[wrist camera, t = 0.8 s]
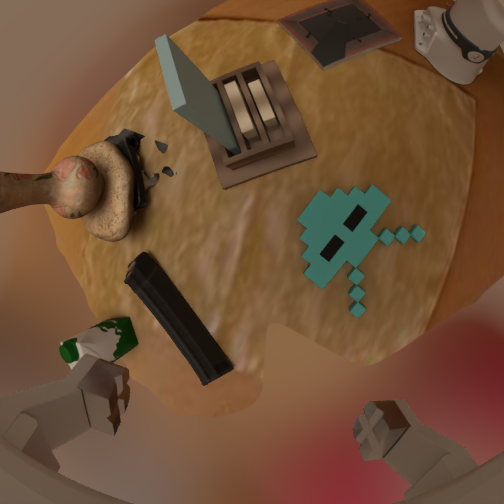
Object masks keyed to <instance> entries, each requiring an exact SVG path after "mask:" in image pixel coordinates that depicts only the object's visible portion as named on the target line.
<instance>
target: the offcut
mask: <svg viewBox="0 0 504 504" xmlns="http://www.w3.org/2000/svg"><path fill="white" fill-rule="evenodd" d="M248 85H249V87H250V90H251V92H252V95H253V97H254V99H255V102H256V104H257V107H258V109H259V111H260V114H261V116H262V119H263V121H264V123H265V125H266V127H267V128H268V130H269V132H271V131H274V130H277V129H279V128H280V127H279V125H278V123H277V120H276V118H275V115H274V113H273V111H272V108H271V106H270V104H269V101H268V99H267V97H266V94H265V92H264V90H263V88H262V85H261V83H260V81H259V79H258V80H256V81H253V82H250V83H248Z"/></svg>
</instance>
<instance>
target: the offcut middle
mask: <svg viewBox="0 0 504 504" xmlns="http://www.w3.org/2000/svg"><path fill="white" fill-rule="evenodd" d="M224 87H225V89H226V92H227V95H228V97H229V100H230V103H231V105H232V108H233V110H234V113H235V116H236V118H237V121H238V124H239V127H240V129H241V132H242V134H243V135H244V136H245V137H246V138H247V139H248V140H249V142H250V143H251V144H253V143H256V142H259V141H261V140H262V139H261V136H260V134H259V131H258V128H257V126H256V123H255V121H254V118H253V116H252V113H251V111H250V108H249V106H248V103H247V101H246V98H245V96H244V94H243V93H242V91H241V90H240V88H239V87H238V85H237V83H236V82H235V81H233V82H230V83H228V84H225V85H224Z"/></svg>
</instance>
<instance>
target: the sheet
mask: <svg viewBox="0 0 504 504" xmlns="http://www.w3.org/2000/svg"><path fill="white" fill-rule="evenodd" d="M155 44H156V48H157V52H158V56H159V60H160V64H161V68H162V72H163V76H164V80H165V83H166V87H167V91H168V95H169V98H170V102H171V105H172V109H173V111H175V112H176V113H178V114H179V115H181V116H182V117H183V118H185V119H186V120H188V121H189V122H191V123H192V124H194V125H195V126H196V127H198V128H199V129H201V130H202V131H203V132H205V133H206V134H208V135H209V136H210V137H212V138H213V139H215V140H216V141H217V142H219V143H220V144H221V145H223V146H224V147H225V148H227V149H228V150H229V151H231V152H232V153H233V154H235V155H238V154H240V153H242V152H241V149H240V146H239V143H238V141H237V138H236V135H235V132H234V129H233V127H232V124H231V121H230V118H229V116H228V113H227V110H226V107H225V105H224V102H223V99H222V97H221V94H220V93H219V92H218V91H217V90H216V89H215V87H214V86H213V85H212V84H211V83H210V82H209V80H208V79H207V78H206V77H205V76H204V75H203V74H202V72H201V71H200V70H199V69H198V68H197V67H196V66H195V65H194V64H193V62H192V61H191V60H190V59H189V58H188V57H187V56H186V55H185V54H184V53H183V52H182V51H181V49H180V48H179V47H178V46H177V45H176V44H175V43H174V42H173V41H172V40H171V39H170V38H169V37H168V36H167V35H166V34H165V35H163V36H161V37H159V38H158V39H156V40H155Z"/></svg>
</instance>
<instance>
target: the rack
mask: <svg viewBox="0 0 504 504" xmlns="http://www.w3.org/2000/svg"><path fill="white" fill-rule="evenodd" d="M258 79H259V81H260V83H261V85H262V88H263V90H264V92H265V94H266V97H267V99H268V101H269V104H270V106H271V108H272V111H273V113H274V115H275V118H276V120H277V123H278V125H279V127H280V128H279V129H277V130H274V131H271V132H269V130H268V128H267V127H266V125H265V123H264V121H263V119H262V116H261V114H260V111H259V109H258V107H257V104H256V102H255V99H254V97H253V95H252V92H251V90H250V87H249V85H248V83H250V82H253V81H256V80H258ZM233 81H235V82H236V83H237V85H238V87H239V88H240V90H241V91H242V93H243V94H244V96H245V98H246V101H247V103H248V106H249V108H250V111H251V113H252V116H253V118H254V121H255V123H256V126H257V128H258V131H259V134H260V136H261V139H262V140H261V141H259V142H256V143H253V144H251V143H250V142H249V140H248V139H247V138H246V137H245V136H244V135H243V134H242V132H241V129H240V127H239V124H238V121H237V118H236V116H235V113H234V110H233V108H232V105H231V103H230V100H229V97H228V95H227V92H226V89H225V87H224V85H225V84H228V83H230V82H233ZM209 82H210V83H211V84H212V85H213V86H214V87H215V89H216V90H217V91H218V92H219V93H220V94H221V97H222V99H223V102H224V105H225V107H226V110H227V113H228V116H229V118H230V121H231V124H232V127H233V129H234V132H235V135H236V138H237V141H238V143H239V146H240V149H241V152H242V153H240V154H238V155H235V154H233V153H232V152H231V151H229V150H228V149H227V148H225V147H224V146H223V145H221V144H220V143H219V142H217V141H216V140H215V139H213V138H212V137H210V136H209V135H208V134H206V133H205V132H204V133H205V136H206V139H207V142H208V146H209V149H210V152H211V155H212V158H213V161H214V164H215V167H216V170H217V173H218V176H219V179H220V182H221V185H222V188H223V189H225V190H226V189H228V188H231V187H234V186H236V185H239V184H241V183H244V182H247V181H249V180H252V179H255V178H257V177H260V176H263V175H266V174H268V173H271V172H274V171H277V170H280V169H282V168H285V167H288V166H291V165H294V164H297V163H300V162H303V161H306V160H309V159H312V158H315V157H317V154H316V152H315V149H314V147H313V144H312V142H311V139H310V137H309V134H308V132H307V130H306V127H305V125H304V123H303V120H302V118H301V116H300V113H299V111H298V109H297V107H296V105H295V102H294V100H293V98H292V96H291V94H290V92H289V89H288V87H287V85H286V83H285V81H284V79H283V77H282V75H281V73H280V71H279V69H278V67H277V65H276V63H275V61H274V60H273V61H270V62H267V63H264V64H261V65H260V62H259V61H258V62H256V63H253V64H250V65H247V66H245V67H242V68H240V69H237V70H235V71H232V72H230V73H227V74H225V75H223V76H220V77H218V78H216V79H214V80H211V81H209Z"/></svg>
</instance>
